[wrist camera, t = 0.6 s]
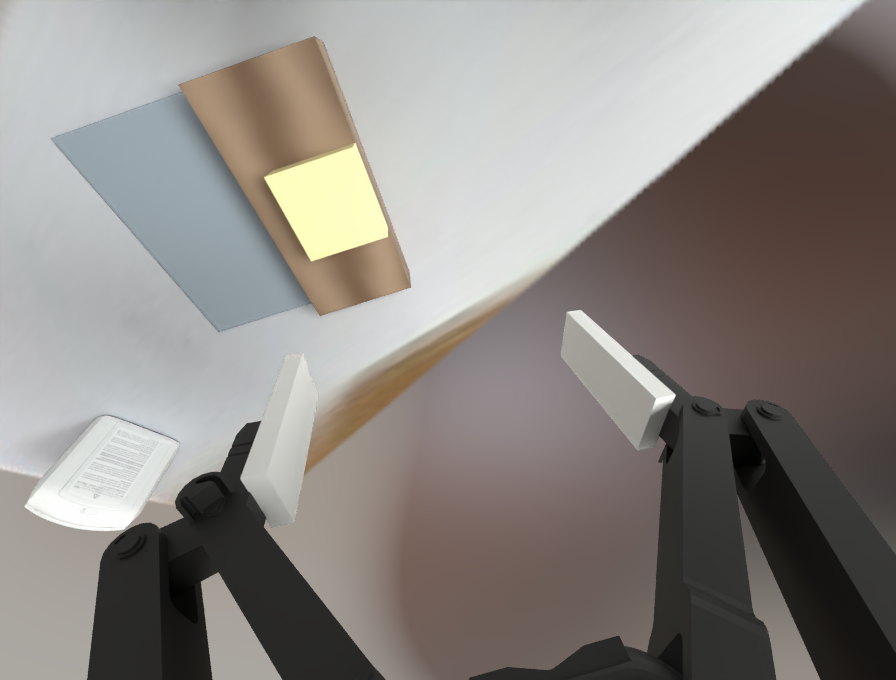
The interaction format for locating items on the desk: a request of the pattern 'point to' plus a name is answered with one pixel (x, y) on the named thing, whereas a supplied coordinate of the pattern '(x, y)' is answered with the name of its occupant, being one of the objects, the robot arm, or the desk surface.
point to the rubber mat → (186, 209)
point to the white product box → (103, 476)
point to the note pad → (329, 202)
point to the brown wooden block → (295, 160)
